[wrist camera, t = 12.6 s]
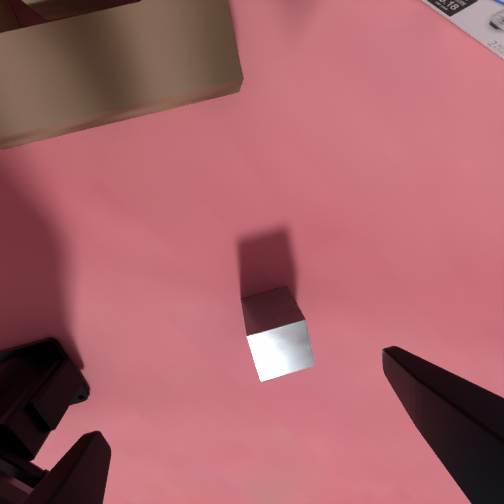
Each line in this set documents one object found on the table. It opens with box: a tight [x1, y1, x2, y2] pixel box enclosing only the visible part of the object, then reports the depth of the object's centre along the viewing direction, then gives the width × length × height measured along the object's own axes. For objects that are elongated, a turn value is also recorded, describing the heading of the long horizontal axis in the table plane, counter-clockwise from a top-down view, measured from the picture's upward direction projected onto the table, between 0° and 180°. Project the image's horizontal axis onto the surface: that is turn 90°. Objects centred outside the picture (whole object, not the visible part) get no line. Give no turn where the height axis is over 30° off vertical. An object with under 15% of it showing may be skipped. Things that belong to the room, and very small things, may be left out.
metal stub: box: [241, 286, 315, 381], centre depth 20 cm, size 4×4×5 cm
